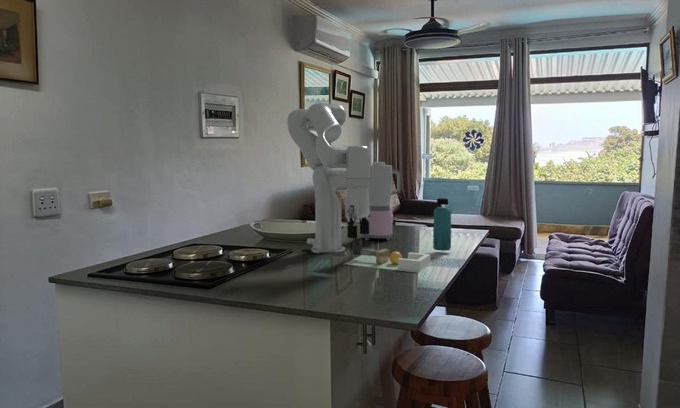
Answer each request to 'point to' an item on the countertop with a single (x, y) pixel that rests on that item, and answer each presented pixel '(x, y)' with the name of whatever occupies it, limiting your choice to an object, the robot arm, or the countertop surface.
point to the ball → (395, 257)
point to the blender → (381, 200)
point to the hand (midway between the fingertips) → (358, 235)
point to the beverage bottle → (442, 226)
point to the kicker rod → (370, 251)
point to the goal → (414, 261)
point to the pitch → (371, 262)
